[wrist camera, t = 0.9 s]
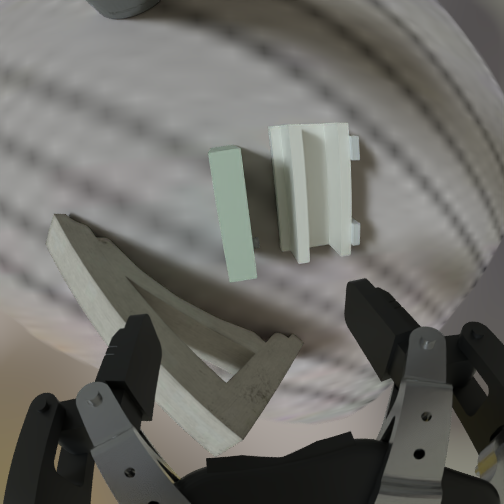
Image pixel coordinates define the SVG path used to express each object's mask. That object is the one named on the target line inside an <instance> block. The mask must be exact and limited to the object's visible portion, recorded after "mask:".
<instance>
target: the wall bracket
mask: <svg viewBox="0 0 504 504" xmlns="http://www.w3.org/2000/svg"><path fill="white" fill-rule="evenodd" d="M46 246H47V248H48V250H49V252H50V254H51V256H52V258H53V260H54V262H55V264H56V265H57V267H58V269H59V271H60V273H61V275H62V276H63V278H64V280H65V282H66V283H67V285H68V287H69V289H70V290H71V292H72V294H73V295H74V297H75V299H76V300H77V302H78V303H79V305H80V307H81V308H82V310H83V311H84V313H85V314H86V316H87V317H88V319H89V320H90V322H91V323H92V325H93V326H94V328H95V329H96V330H97V332H98V333H99V335H100V336H101V337H102V339H103V340H104V341H105V343H106V344H107V346H108V347H109V344H110V341H111V339H112V337H113V336H114V334H115V333H116V332H117V331H118V330H119V329H120V328H124V327H125V324H126V322H127V319H128V317H129V316H130V315H138V314H148V315H149V316H150V318H151V321H152V323H153V326H154V328H155V331H156V334H157V336H158V338H159V341H160V344H161V348H162V359H161V365H160V370H159V376H158V382H157V388H156V395H155V402H156V403H157V404H158V405H159V406H160V407H161V408H162V409H163V410H164V411H165V412H166V413H167V414H168V415H169V416H170V417H171V418H172V419H173V420H174V421H175V422H176V423H177V424H178V425H179V426H180V427H181V428H183V430H184V431H185V432H187V433H188V434H189V435H190V436H191V437H192V438H193V439H194V440H196V441H197V442H198V443H199V444H200V445H201V446H203V447H204V448H205V449H206V450H207V451H208V452H210V453H211V454H213V456H215V457H217V456H219V455H220V454H222V453H223V452H225V451H226V450H228V449H230V448H231V447H233V446H234V445H236V444H238V443H239V442H241V441H242V440H243V439H244V438H245V437H246V435H247V434H248V432H249V431H250V429H251V428H252V426H253V425H254V423H255V422H256V420H257V419H258V417H259V416H260V414H261V413H262V411H263V410H264V408H265V407H266V405H267V404H268V402H269V401H270V399H271V397H272V396H273V394H274V393H275V391H276V389H277V388H278V386H279V385H280V383H281V381H282V380H283V378H284V376H285V375H286V373H287V371H288V370H289V368H290V366H291V364H292V363H293V361H294V359H295V358H296V356H297V354H298V352H299V351H300V349H301V347H302V345H303V342H302V341H301V340H300V339H299V338H297V337H296V336H295V335H294V334H291V336H290V337H289V338H288V337H286V336H285V335H283V334H280V333H274V334H273V335H272V336H271V338H270V339H269V340H268V341H267V342H265V341H263V340H262V339H261V338H260V337H259V336H258V335H257V334H255V333H254V332H252V331H250V330H247V329H245V328H242V327H239V326H237V325H234V324H232V323H229V322H226V321H224V320H221V319H219V318H217V317H215V316H213V315H211V314H209V313H207V312H205V311H203V310H201V309H199V308H198V307H196V306H194V305H192V304H190V303H188V302H186V301H185V300H183V299H181V298H179V297H177V296H176V295H174V294H173V293H172V292H170V291H169V290H167V289H166V288H165V287H163V286H162V285H160V284H159V283H158V282H156V281H155V280H153V279H152V278H151V277H149V276H148V275H147V274H145V273H144V272H143V271H141V270H140V269H139V268H138V267H137V266H136V265H135V264H134V263H133V262H132V261H131V260H130V259H129V258H128V257H127V256H126V255H125V254H124V253H123V252H122V251H121V250H120V249H119V248H118V247H117V246H116V245H115V244H114V243H113V242H112V241H111V240H110V239H108V238H106V237H100V238H96V237H95V235H94V234H93V232H92V231H91V230H90V228H89V227H88V226H86V225H85V224H81V223H78V222H76V221H74V220H72V219H71V218H69V217H68V216H67V215H66V214H54V216H53V219H52V222H51V226H50V229H49V233H48V237H47V240H46ZM200 358H201V359H203V360H205V361H207V362H209V363H211V364H213V365H215V366H217V367H219V368H221V369H223V370H225V371H227V372H229V373H230V374H232V375H234V376H233V377H232V378H231V379H230V380H229V381H228V382H227V383H226V382H224V381H223V380H222V379H221V378H220V377H219V376H218V375H217V374H216V373H215V372H214V371H213V370H212V369H210V368H209V367H208V366H207V365H206V364H205V363H204V362H203V361H202V360H201V359H200Z"/></svg>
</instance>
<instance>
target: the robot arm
mask: <svg viewBox="0 0 504 504" xmlns="http://www.w3.org/2000/svg"><path fill="white" fill-rule="evenodd" d="M86 1H87V2H88V3H89V4H90V5H91V6H93V7H94V8H95V9H96V10H97V11H98V12H99V13H100V14H102V15H103V16H104V17H107V18H111V19H123V18H128V17H132V16H135V15H137V14H140V13H142V12H144V11H146V10H148V9H150V8H151V7H152V6H154V5H155V4H157V3H158V2H159V1H160V0H86ZM344 314H345V321H346V324H347V326H348V328H349V330H350V331H351V333H352V335H353V336H354V338H355V339H356V341H357V342H358V344H359V346H360V347H361V349H362V351H363V352H364V354H365V355H366V357H367V359H368V360H369V362H370V364H371V365H372V367H373V369H374V370H375V372H376V373H377V375H378V377H379V378H380V380H381V382H382V381H384V380H387V379H390V378H392V380H393V381H394V383H393V386H392V389H391V394H390V398H389V402H388V406H387V410H386V414H385V417H384V421H383V424H382V427H381V430H380V432H379V434H378V437H377V439H376V440H374V439H354V438H353V436H352V434H351V432H347V433H343V434H340V435H337V436H334V437H330V438H327V439H323V440H319V441H316V442H314V443H312V444H310V445H308V446H306V447H304V448H302V449H300V450H298V451H295V452H293V453H291V454H289V455H286V456H284V457H257V456H245V455H240V456H230V457H219V458H206V462H207V467H204V468H201V469H198V470H195V471H193V472H191V473H189V474H187V475H186V476H185V477H183V478H180V477H179V476H178V475H177V474H176V473H175V472H174V471H173V469H172V468H171V467H170V466H169V465H168V464H167V463H166V462H165V460H164V459H163V458H162V457H161V455H160V454H159V453H158V452H157V450H156V449H155V448H154V446H153V445H152V444H151V442H150V441H149V439H148V438H147V437H146V435H145V434H144V432H143V431H142V430H141V429H140V426H141V421H152V416H153V408H154V402H155V395H156V388H157V382H158V376H159V370H160V365H161V359H162V348H161V344H160V341H159V338H158V336H157V334H156V331H155V328H154V326H153V323H152V321H151V318H150V316H149V315H148V314H138V315H130V316H129V317H128V319H127V322H126V324H125V327H124V328H120V329H119V330H118V331H117V332H116V333H115V334H114V336H113V337H112V339H111V341H110V344H109V348H108V349H107V351H106V356H104V359H103V361H102V364H101V366H100V369H99V372H98V374H97V377H96V380H95V382H92V383H90V384H87V385H85V386H84V387H83V388H82V389H81V390H80V391H79V392H78V394H77V397H76V399H72V400H67V401H62V402H59V401H58V399H57V398H56V397H55V396H54V395H53V394H51V393H43V394H41V395H38V396H37V397H36V398H35V399H34V400H33V401H32V403H31V405H30V407H29V410H28V412H27V415H26V418H25V421H24V424H23V426H22V429H21V432H20V435H19V438H18V442H17V445H16V449H15V452H14V455H13V459H12V463H11V467H10V471H9V475H8V480H7V485H6V490H5V496H4V502H3V504H91V503H90V502H91V491H92V480H93V471H94V464H95V463H96V465H97V467H98V469H99V470H100V472H101V474H102V476H103V478H104V479H105V481H106V483H107V485H108V487H109V488H110V490H111V492H112V493H113V495H114V497H115V498H116V500H117V501H118V503H119V504H503V503H504V345H503V344H502V343H501V341H499V339H498V338H497V337H496V336H495V335H494V334H493V333H492V332H491V331H490V330H489V329H488V328H487V327H486V326H485V325H483V324H481V323H479V322H468V323H466V324H465V325H464V326H463V328H462V330H461V333H460V334H459V335H452V336H443V334H442V333H441V332H440V331H438V330H437V329H435V328H432V327H420V325H419V324H418V323H417V322H416V321H415V320H414V319H413V318H412V317H411V316H410V314H409V313H408V312H407V311H406V310H405V309H404V308H403V307H401V305H400V304H399V303H398V302H397V301H396V300H395V299H394V298H393V297H392V295H391V294H390V293H389V292H387V291H385V290H383V289H381V288H379V287H378V288H375V287H374V286H373V285H372V284H371V283H370V282H369V281H368V280H367V279H366V278H364V279H359V280H355V281H350V282H348V283H347V288H346V301H345V313H344ZM476 370H477V371H478V373H479V374H480V375H481V377H482V378H483V380H484V381H485V382H486V384H487V385H488V388H489V394H488V397H487V396H486V394H485V392H484V391H483V389H482V388H481V387H480V385H479V384H478V383H477V381H476V380H475V378H474V377H473V375H474V373H475V372H476ZM452 408H453V409H454V411H455V413H456V414H457V416H458V418H459V419H460V421H461V423H462V425H463V426H464V428H465V430H466V432H467V433H468V435H469V437H470V439H471V441H472V443H473V445H474V447H475V449H476V450H477V452H478V454H479V457H478V465H477V466H476V468H475V473H476V475H477V476H480V478H477V477H474V476H471V475H468V474H465V473H462V472H459V471H456V470H453V469H450V468H447V467H444V466H445V460H446V455H447V448H448V442H449V434H450V425H451V414H452ZM58 444H59V445H60V446H62V447H61V452H60V456H59V461H58V467H57V472H56V470H55V467H54V459H55V454H56V450H57V445H58Z"/></svg>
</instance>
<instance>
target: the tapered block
mask: <svg viewBox="0 0 504 504" xmlns="http://www.w3.org/2000/svg"><path fill="white" fill-rule="evenodd" d="M208 155H209V162H210V168H211V175H212V181H213V188H214V194H215V200H216V206H217V212H218V218H219V224H220V230H221V236H222V242H223V248H224V253H225V259H226V264H227V270H228V275H229V281H230V282H236V281H242V280H248V279H254V278H257V273H256V265H255V257H254V249H255V248H260V245H259V239H258V237H256V238H252V234H251V226H250V218H249V210H248V202H247V195H246V187H245V179H244V171H243V164H242V156H241V148H239V147H237V146H235V145H229V146H222V147H216V148H211V149H210V151H209V152H208Z"/></svg>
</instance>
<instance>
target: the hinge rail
mask: <svg viewBox="0 0 504 504" xmlns="http://www.w3.org/2000/svg"><path fill="white" fill-rule="evenodd" d="M268 130H269V139H270V148H271V157H272V166H273V176H274V186H275V196H276V206H277V217H278V228H279V240H280V249H281V251H282V252H285V251H291V252H292V254H293V255H294V257H295V259H296V260H297V262H298V263H299V264H302V263H308V262H310V252H309V247H315V246H321V245H327V244H329V245H330V246H331V247H332V248H333V249H334V250H335V251H336V252H337V253H338V254H339V255H340V256H347V255H351V244H352V245H353V246H354V245H360V223H359V222H357V221H356V220H355V219H353V218H352V192H351V161H350V160H360V153H359V136H352V135H349V130H348V123H325V124H291V125H282V126H272V127H268Z"/></svg>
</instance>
